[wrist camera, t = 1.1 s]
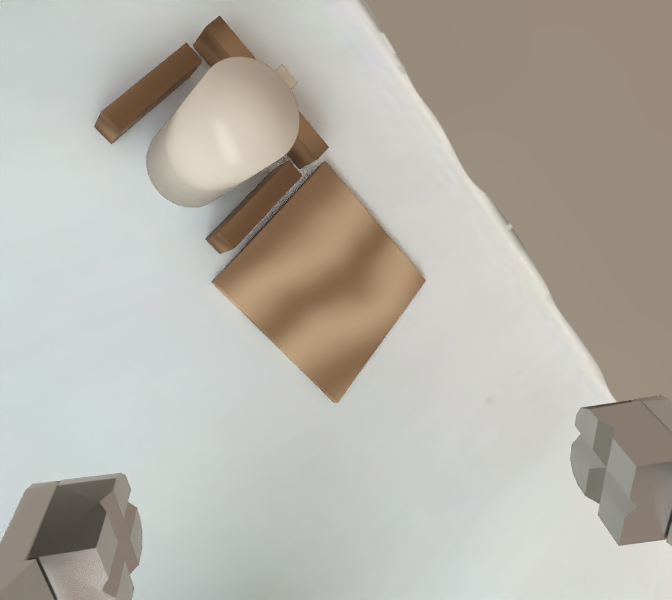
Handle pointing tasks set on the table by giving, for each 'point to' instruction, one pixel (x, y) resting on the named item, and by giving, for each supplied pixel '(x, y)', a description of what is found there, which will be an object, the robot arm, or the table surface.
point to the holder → (168, 77)
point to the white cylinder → (224, 132)
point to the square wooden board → (322, 282)
